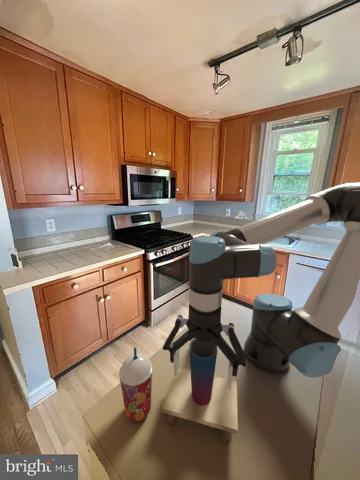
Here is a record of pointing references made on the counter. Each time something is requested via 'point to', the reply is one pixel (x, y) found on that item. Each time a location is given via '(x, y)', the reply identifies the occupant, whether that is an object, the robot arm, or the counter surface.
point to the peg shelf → (213, 414)
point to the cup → (202, 370)
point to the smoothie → (136, 386)
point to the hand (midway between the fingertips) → (202, 377)
